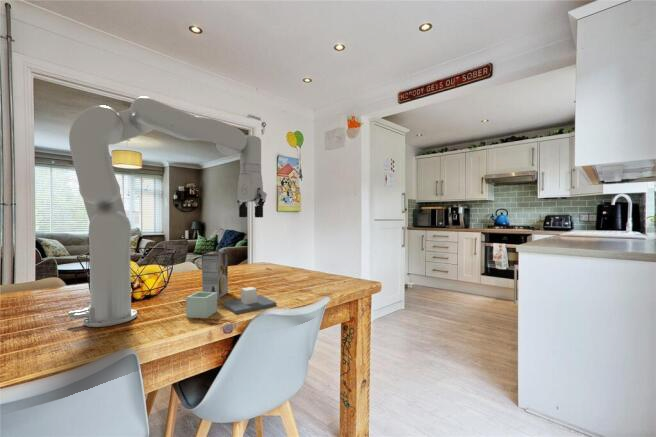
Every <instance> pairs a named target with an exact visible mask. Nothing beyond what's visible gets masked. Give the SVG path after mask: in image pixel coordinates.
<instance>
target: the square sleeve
mask: <svg viewBox="0 0 656 437" xmlns="http://www.w3.org/2000/svg"><path fill="white" fill-rule="evenodd" d="M217 312H218V299H217V292H202V291H196V292H194V293H192V294H190V295H188V296H185V318H189V319H190V318H191V319H192V318H193V319H194V318H196V319H208V318H209V317H211V316H212V315H214V314H215V313H217Z"/></svg>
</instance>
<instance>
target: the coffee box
mask: <svg viewBox="0 0 656 437" xmlns="http://www.w3.org/2000/svg"><path fill="white" fill-rule="evenodd" d="M228 259H229V258H228V250H227V251H226V250H225V251H217V250H215V251H209V252H206V253H203V254H201V278H202V279H201V285H202V290H201V292H217V300H219V299H221V298H222V297H223V296H225V295H226V294H227V293H229V277H228V276H229V275H228V274H229V273H228V266H229V265H228V262H229V261H228Z"/></svg>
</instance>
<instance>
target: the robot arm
mask: <svg viewBox="0 0 656 437" xmlns="http://www.w3.org/2000/svg"><path fill="white" fill-rule="evenodd" d="M154 130H155V131H158V132H161V133H164V134H167V135H169V136H172V137H175V138H177V139H180V140H183V141H203V142H204V141H205V142H208V143H209V142H210V143H214V144H215V147H216V150H217V151H218V152H219V153H220V154H221V155H223V156H229V157H231V156H239V176H238V182H237V194H236V200H237V204H238V205H237V206H238V217H239V218H247V217H248V206H247V205H248V203H249V202H254V204H255V205H254V218H264V207H265V202H266V199H267V195H268V194H267V193H266V192H265V191H264V185H263V184H264V182H263V175H262V140H261V138H260V137H259V136H257V135H253V134H252V135H251V134H250V135H249V134H248V135H246V134H245V133H244V132H243V131H242V130H240V129H239V128H237V127H235V126H232V125H231V124H228V123H227V122H223V121H221V120H218V119H214V118H210V117H205V116H201V115H196V114H190V113H188V112H185V111H183V110H181V109H179V108H176V107H174V106H170V105H168V104H166V103H163V102H161V101H159V100H156V99H154V98H151V97H148V96H139V97H137V98H135V99H134V100H133V101H132V102H131V105H130V107H129V108H128V109H124V110H122V111H118V112H117V111H116V110H115V109H114V108H113V107H109V106H106V105H95V106H91V107H88V108H86V109H85V110H83V111H82V112H80V113H79V114H78V115H77V116H76V117H75V118H74V120H73V122H72V124H71V126H70V130H69V135H68V141H69V150H70V153H71V158H72V162H73V166H74V170H75V174H76V178H77V182H78V188H79V189H78V191H79V193H80V196H81V197H82V200H83V204H84V207H85V211H86V215H87V217H88V222H89V223H88V246H89V249H88V250H89V294H90V295H89V296H90V297H89V300H90V301H89V302H90V304H88V307H85V308H84V309H80V310H78V309H77V310H71V311H69V314H68V316H69V317H68V318H69V319H75V320H78V319H83V318H84V319H83V322H82V323H83V325H84V326H86V327H90V328H102V327H110V326H116V325H119V324H121V325H122V324H123V323H124V324H125V323H126V322H127V323H128V322H129V321H132V320H134V319H135V318H137V316H138V311H137V310H136V309H133V308H132V284H131V283H132V281H131V280H132V277H131V276H132V275H131V272H132V270H131V269H132V268H131V265H132V263H131V244H132V240H131V239H132V224H131V221H130V219H129V218H128V216H127V213H126V209H125V205H124V203H123V198H122V195H121V194H122V193H121V187H120V186H121V185H120V184H119V182H118V180H117V176H116V173H115V170H114V167H113V162H112V157H111V154H110V150H109V149H110V148H109V146H110V145H115V144H120V143H122V142H125V141H128V140H131V139H135V138H137V137H140V136H142V135H145V134H148V133H150V132H152V131H154Z"/></svg>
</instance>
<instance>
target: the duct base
mask: <svg viewBox="0 0 656 437" xmlns="http://www.w3.org/2000/svg"><path fill="white" fill-rule="evenodd" d="M240 290H241V292H240V294H241V296H240V298H236V299H229V300H225V301H221V305H222V306H223V307H225V308H226V309H227V310H229V311H230V312H232V313H233V314H234V315H237V314H243V313H247V312H252V311H257V310H261V309H266V308H271V307H276V306H277V302H276V301H274V300H273V299H271V298H268V297H266V296H264V295H262V294H258V293H257V292H258V289H257V288H255V287H253V286H249V287H242V288H240ZM257 294H258V295H257Z"/></svg>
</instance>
